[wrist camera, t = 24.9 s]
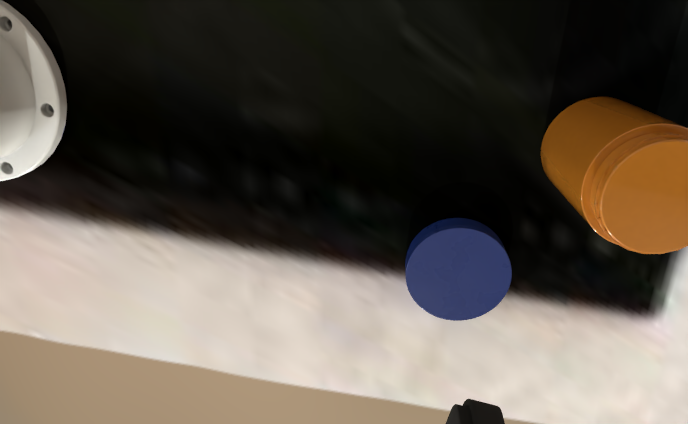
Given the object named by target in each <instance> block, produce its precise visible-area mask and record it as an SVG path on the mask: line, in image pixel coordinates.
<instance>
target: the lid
mask: <svg viewBox="0 0 688 424" xmlns="http://www.w3.org/2000/svg"><path fill="white" fill-rule="evenodd" d="M405 269H406V283H407V287H408V290H409V292H410V294H411V296H412V298H413V299H414V301H415V302H416V303H417V304H418V305H419V306H420V307H421V308H422V309H423V310H425V311H426V312H428V313H430V314H432V315H434V316H436V317H439V318H442V319H446V320H468V319H473V318H476V317H479V316H481V315H483V314H486V313H487V312H489V311H490V310H492V309H493V308H494V307H496V306H497V305H498V304H499V303H500V302H501V300H502V299H503V298H504V296H505V295H506V293H507V291H508V289H509V286H510V282H511V277H512V269H511V263H510V259H509V257H508V254H507V252H506V250H505V248H504V245H503V243H502V242H501V240H500V238H499V237H498V236H497V235H496V233H495V232H493V231H492V230H491V229H490V228H489V227H487V226H486V225H484V224H482V223H480V222H477V221H475V220H471V219H467V218H449V219H444V220H440V221H437V222H435V223H433V224H431V225H429V226H427V227H426V228H424V229H423V230H422V231H421V232H420V233H418V234H417V236H416V237H415V238H414V239H413V241H412V242H411V244H410V246H409V248H408V251H407V254H406V260H405Z"/></svg>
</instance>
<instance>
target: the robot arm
mask: <svg viewBox="0 0 688 424" xmlns="http://www.w3.org/2000/svg"><path fill="white" fill-rule="evenodd" d="M66 114H67V100H66V91H65V85H64V82H63V78H62V75H61V71H60V68H59V66H58V64H57V62H56V60H55V58H54V55H53V53H52V51H51V50H50V48H49V47H48V45H47V44H46V42H45V41H44V39H43V38H42V36H41V35H40V33H39V32H38V31H37V30H36V29H35V28H34V27H33V25H32V24H31V23H30V22H29V21H28V20H27V19H26V18H25V17H24V16H23V15H22V14H20V13H19V12H18V11H17V10H15V9H14V8H13V7H12V6H10V5H9V4H8V3H6V2H4V1H2V0H0V181H4V180H8V179H12V178H16V177H19V176H21V175H23V174H26V173H28V172H30V171H32V170H34V169H35V168H37V167H38V166H40V165H41V164H43V163H44V162H45V161H46V160H47V159H48V158H49V157H50V156H51V155H52V153H53V152H54V151H55V149H56V147H57V145H58V144H59V142H60V140H61V138H62V134H63V131H64V127H65V124H66ZM446 424H505V423H504V419H503V415H502V412H501V409H500V408H499V407H498V406H495V405H491V404H487V403H483V402H479V401H475V400H471V399H467V400H466V401H465V402H464V404H463V406H461V405H457V404H455V405H454V406H453V407H452V409H451V412H450V414H449V417H448V419H447V422H446Z"/></svg>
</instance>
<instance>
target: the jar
mask: <svg viewBox="0 0 688 424" xmlns="http://www.w3.org/2000/svg"><path fill="white" fill-rule="evenodd" d="M541 161H542V165H543V168H544V171H545V173H546V175H547V176H548V178H549V179H550V180H551V182H552V183H553V184H554V185H555V186H556V187H557V189H558V190H559V191H560V192H561V193H562V194H563V195H564V196H565V198H566V199H567V200H568V201H569V202H570V203H571V204H572V206H573V207H574V208H575V209H576V210H577V211H578V212H579V213H580V215H581V216H582V217H583V218H584V219H585V220H586V221H587V223H588V224H589V225H590V226H591V227H592V228H593V229H594V230H595V231H596V232H597V233H598V234H599V235H600V236H602V237H603V238H605V239H606V240H608V241H610V242H612V243H614V244H618V245H620V246H622V247H623V248H625V249H627V250H630V251H634V252H638V253H642V254H663V253H667V252H672V251H677V250H680V249H682V248H684V247H686V246H688V128H686V127H684V126H681V125H679V124H676V123H674V122H672V121H669V120H667V119H664V118H662V117H660V116H657V115H655V114H653V113H650V112H648V111H645V110H643V109H641V108H638V107H636V106H633V105H631V104H629V103H626V102H624V101H622V100H618V99H615V98H610V97H593V98H588V99H584V100H581V101H579V102H577V103H574V104H572V105H571V106H569V107H568V108H566V109H565V110H563V111H562V112H561V113H560V114H559V115H558V116H557V117H556V118H555V119H554V120H553V121H552V123H551V124H550V126H549V127H548V129H547V131H546V133H545V135H544V138H543V141H542V146H541Z"/></svg>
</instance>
